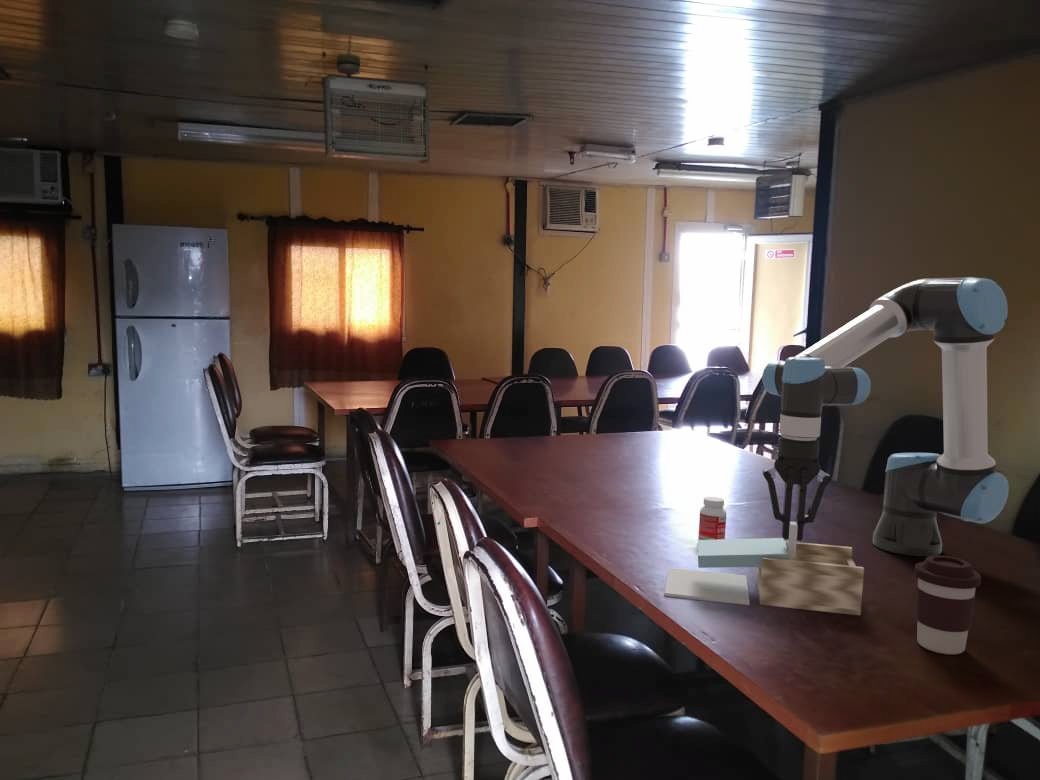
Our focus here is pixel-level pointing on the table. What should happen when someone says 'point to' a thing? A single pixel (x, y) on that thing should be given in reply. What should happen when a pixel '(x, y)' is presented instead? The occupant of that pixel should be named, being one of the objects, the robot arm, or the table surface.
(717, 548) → the lid
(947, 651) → the coffee cup
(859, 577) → the box
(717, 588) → the mat
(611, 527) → the table surface
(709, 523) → the pill bottle
